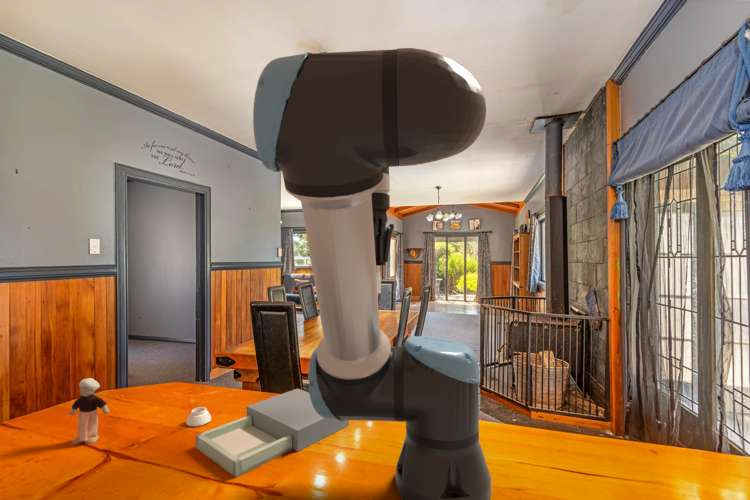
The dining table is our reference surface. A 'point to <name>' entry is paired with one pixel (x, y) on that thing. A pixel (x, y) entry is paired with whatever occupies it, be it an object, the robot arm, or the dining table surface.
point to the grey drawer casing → (293, 419)
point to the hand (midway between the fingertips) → (374, 292)
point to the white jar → (198, 417)
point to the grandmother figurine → (88, 412)
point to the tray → (249, 460)
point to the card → (238, 442)
